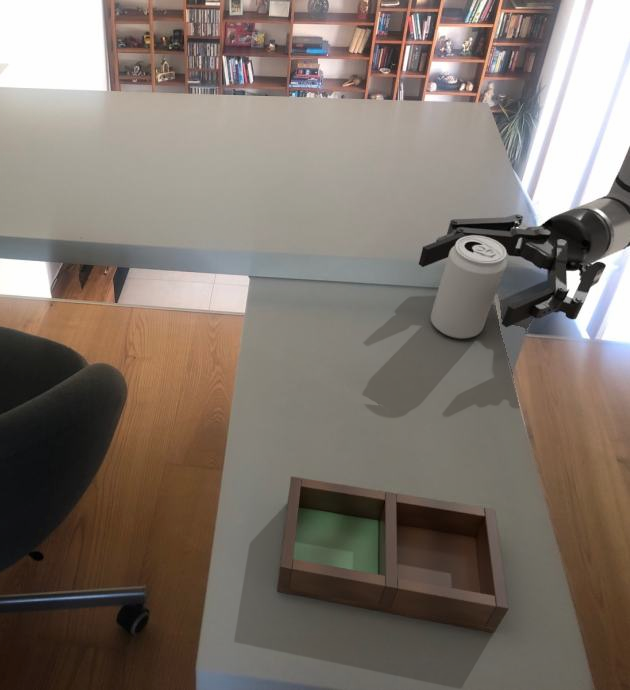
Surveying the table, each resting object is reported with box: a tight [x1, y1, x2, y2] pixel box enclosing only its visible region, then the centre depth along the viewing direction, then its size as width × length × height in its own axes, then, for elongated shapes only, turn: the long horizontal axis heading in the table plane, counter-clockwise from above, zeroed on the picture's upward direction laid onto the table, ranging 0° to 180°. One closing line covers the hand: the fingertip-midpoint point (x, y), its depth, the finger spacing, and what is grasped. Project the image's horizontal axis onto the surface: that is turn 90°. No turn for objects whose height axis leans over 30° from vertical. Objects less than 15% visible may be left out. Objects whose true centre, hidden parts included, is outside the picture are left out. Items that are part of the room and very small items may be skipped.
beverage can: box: [430, 235, 508, 339], centre depth 85 cm, size 6×6×12 cm
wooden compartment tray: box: [276, 476, 510, 634], centre depth 63 cm, size 19×10×4 cm, turn 77°
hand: (462, 285), depth 84 cm, fingers open, 13 cm apart
